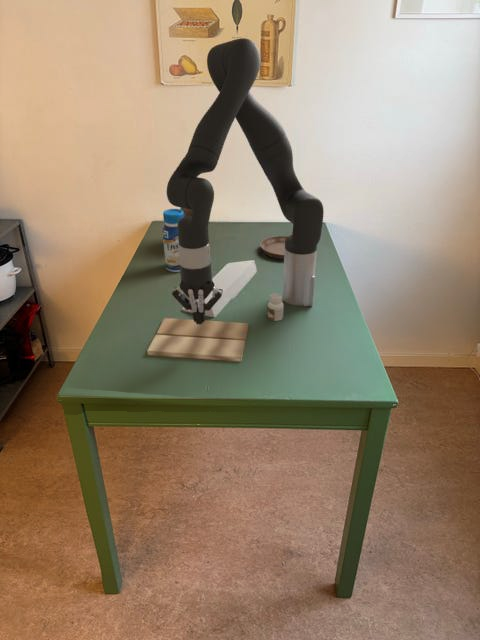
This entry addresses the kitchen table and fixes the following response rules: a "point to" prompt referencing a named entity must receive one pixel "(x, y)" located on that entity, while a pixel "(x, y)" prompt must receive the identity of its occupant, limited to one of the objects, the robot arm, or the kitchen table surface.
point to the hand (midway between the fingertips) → (199, 322)
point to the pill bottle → (275, 307)
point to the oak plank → (197, 347)
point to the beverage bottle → (171, 238)
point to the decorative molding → (230, 284)
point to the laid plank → (204, 329)
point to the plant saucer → (274, 246)
